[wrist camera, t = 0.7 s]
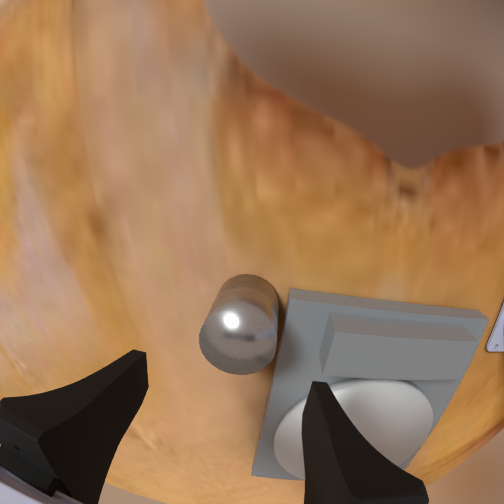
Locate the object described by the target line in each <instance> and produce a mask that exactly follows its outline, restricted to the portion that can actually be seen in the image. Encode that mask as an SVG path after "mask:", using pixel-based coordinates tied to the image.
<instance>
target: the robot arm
mask: <svg viewBox="0 0 504 504" xmlns="http://www.w3.org/2000/svg"><path fill="white" fill-rule="evenodd" d="M486 349H487V350H488V351H489V352H503V351H504V302H503V305H502V308H501V311H500V313H499V316H498V318H497V321H496V324H495V326H494V328H493V331H492V333H491V336H490V338H489V340H488V342H487V345H486ZM148 387H149V385H148V373H147V360H146V352H142V351H138V350H134V349H133V350H132V351H130V352H128V353H127V354H125V355H124V356H122V357H120V358H119V359H117V360H116V361H114V362H112V363H111V364H109V365H108V366H106V367H104V368H102V369H101V370H99V371H97V372H95V373H93V374H91V375H89V376H88V377H86V378H84V379H82V380H79V381H77V382H75V383H72V384H70V385H67V386H65V387H62V388H58V389H55V390H51V391H48V392H44V393H40V394H35V395H29V396H21V397H7V398H3V399H2V400H1V401H0V444H1V447H0V504H98V501H99V498H100V494H101V491H102V488H103V485H104V482H105V479H106V476H107V473H108V470H109V467H110V465H111V462H112V460H113V457H114V455H115V452H116V450H117V447H118V445H119V443H120V441H121V439H122V438H123V436H124V434H125V432H126V431H127V429H128V427H129V426H130V424H131V422H132V420H133V419H134V417H135V415H136V414H137V412H138V410H139V408H140V406H141V405H142V402H143V400H144V397H145V395H146V392H147V390H148ZM301 434H302V446H303V457H304V469H305V496H304V504H428V503H429V498H428V495H427V491H426V488H425V486H424V483H423V481H422V480H420V479H418V478H416V477H415V476H413V475H411V474H409V473H407V472H406V471H404V470H402V469H401V468H399V467H398V466H396V465H395V464H394V463H392V462H391V461H390V460H388V459H387V458H386V457H385V456H383V455H382V454H381V453H380V452H379V451H377V450H376V449H375V448H374V447H373V446H372V445H371V444H370V443H369V442H368V441H367V440H366V439H365V438H364V436H363V435H362V434H361V433H360V432H359V431H358V429H357V428H356V427H355V425H354V424H353V423H352V421H351V420H350V419H349V417H348V416H347V414H346V413H345V411H344V410H343V408H342V407H341V405H340V404H339V402H338V400H337V399H336V397H335V395H334V394H333V392H332V390H331V388H330V387H329V385H328V383H327V382H320V381H312V384H311V388H310V391H309V394H308V397H307V400H306V404H305V407H304V410H303V413H302V431H301Z"/></svg>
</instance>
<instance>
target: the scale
mask: <svg viewBox="0 0 504 504" xmlns="http://www.w3.org/2000/svg"><path fill="white" fill-rule="evenodd" d="M488 321H489V319H488V318H487V317H486V316H485V315H483V314H482V313H481V312H480V311H479V310H471V309H460V308H450V307H440V306H431V305H421V304H412V303H403V302H395V301H386V300H378V299H369V298H361V297H353V296H345V295H338V294H330V293H322V292H315V291H308V290H300V289H293V288H290V289H289V295H288V300H287V306H286V311H285V316H284V322H283V327H282V332H281V337H280V342H279V347H278V352H277V357H276V362H275V367H274V372H273V377H272V381H271V386H270V391H269V395H268V400H267V404H266V409H265V413H264V418H263V422H262V427H261V431H260V435H259V440H258V444H257V448H256V452H255V456H254V460H253V466H252V473H251V476H258V477H266V478H276V479H289V480H305V469H304V457H303V446H302V434H301V431H302V413H303V410H304V407H305V404H306V400H307V397H308V394H309V391H310V388H311V384H312V381H320V382H327V383H328V385H329V387H330V388H331V390H332V392H333V394H334V395H335V397H336V399H337V400H338V402H339V404H340V405H341V407H342V408H343V410H344V411H345V413H346V414H347V416H348V417H349V419H350V420H351V421H352V423H353V424H354V425H355V427H356V428H357V429H358V431H359V432H360V433H361V434H362V435H363V436H364V438H365V439H366V440H367V441H368V442H369V443H370V444H371V445H372V446H373V447H374V448H375V449H376V450H377V451H379V452H380V453H381V454H382V455H383V456H385V457H386V458H387V459H388V460H390V461H391V462H392V463H394V464H395V465H396V466H398V467H399V468H401V469H402V470H404V469H405V468H406V467H407V466H408V464H409V463H410V462H411V460H412V459H413V457H414V456H415V455H416V453H417V452H418V450H419V449H420V448H421V446H422V445H423V443H424V442H425V440H426V439H427V437H428V436H429V434H430V433H431V431H432V430H433V428H434V427H435V425H436V424H437V422H438V420H439V419H440V417H441V415H442V414H443V412H444V411H445V409H446V407H447V405H448V404H449V402H450V400H451V398H452V397H453V395H454V393H455V391H456V389H457V388H458V386H459V384H460V382H461V380H462V378H463V376H464V374H465V372H466V370H467V368H468V366H469V364H470V362H471V360H472V358H473V356H474V354H475V351H476V349H477V347H478V345H479V342H480V340H481V338H482V336H483V333H484V331H485V328H486V326H487V323H488Z"/></svg>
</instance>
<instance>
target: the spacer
mask: <svg viewBox="0 0 504 504" xmlns="http://www.w3.org/2000/svg"><path fill="white" fill-rule="evenodd" d="M278 307H279V301H278V296H277V293H276V291H275V289H274V288H273V286H272V285H271V284H270V283H269V282H267V281H266V280H265V279H263V278H261V277H258V276H255V275H250V274H243V275H238V276H235V277H232V278H231V279H229V280H228V281H226V282H225V283H224V284H223V286H222V287H221V289H220V291H219V293H218V295H217V297H216V299H215V301H214V303H213V305H212V307H211V310H210V312H209V314H208V316H207V318H206V320H205V322H204V324H203V326H202V328H201V331H200V335H199V344H200V348H201V351H202V353H203V355H204V356H205V358H206V359H207V360H208V361H209V362H210V363H211V364H212V365H213V366H215V367H216V368H218V369H220V370H222V371H224V372H227V373H231V374H237V375H246V374H252V373H255V372H258V371H260V370H262V369H263V368H265V367H266V366H267V365H268V364H269V363H270V362H271V361H272V359H273V357H274V355H275V352H276V346H277V327H278Z"/></svg>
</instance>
